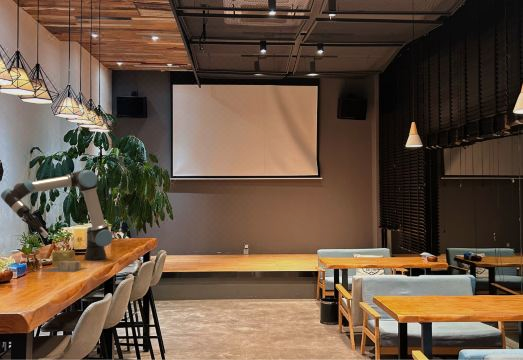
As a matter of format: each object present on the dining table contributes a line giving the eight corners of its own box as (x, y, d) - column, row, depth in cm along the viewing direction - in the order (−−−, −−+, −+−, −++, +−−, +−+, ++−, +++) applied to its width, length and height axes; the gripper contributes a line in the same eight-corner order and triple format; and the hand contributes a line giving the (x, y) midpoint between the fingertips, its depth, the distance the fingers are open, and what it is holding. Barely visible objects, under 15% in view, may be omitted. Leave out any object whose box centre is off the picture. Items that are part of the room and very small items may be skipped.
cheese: (66, 267, 320) (66, 252, 320) (51, 267, 322) (51, 251, 322) (75, 265, 330) (75, 250, 330) (60, 264, 332) (60, 249, 332)
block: (63, 260, 311) (81, 261, 309) (62, 268, 311) (81, 269, 309) (58, 262, 306) (76, 262, 304) (58, 270, 306) (76, 270, 304)
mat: (55, 268, 317) (55, 267, 317) (87, 268, 314) (87, 267, 314) (40, 272, 302) (40, 271, 302) (74, 273, 299) (74, 272, 299)
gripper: (23, 213, 319) (48, 238, 316) (10, 214, 306) (36, 241, 304) (31, 204, 318) (56, 230, 316) (18, 205, 305) (44, 232, 303)
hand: (46, 235), depth 310 cm, fingers closed
